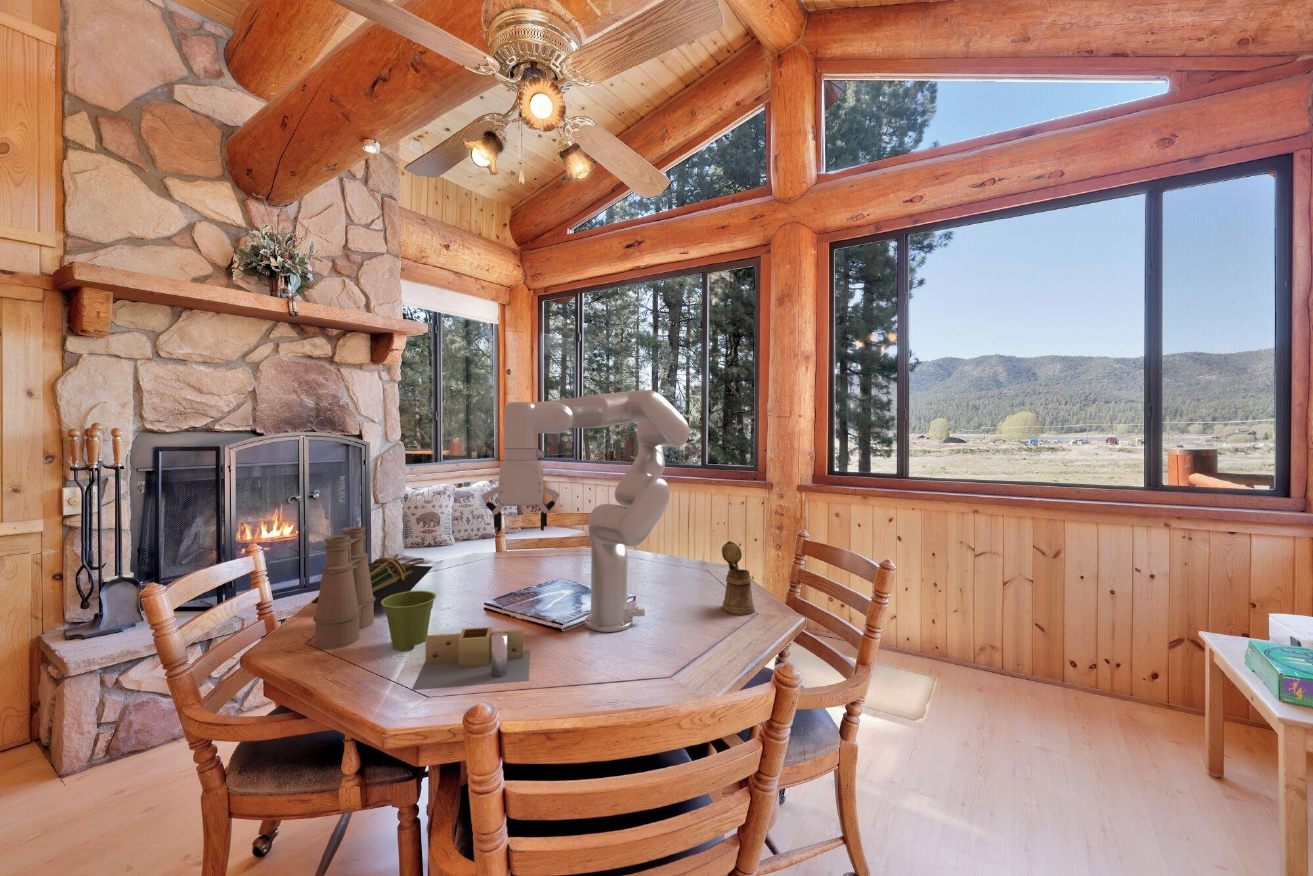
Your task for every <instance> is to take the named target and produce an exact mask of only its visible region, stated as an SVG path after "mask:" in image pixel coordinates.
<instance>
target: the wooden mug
mask: <svg viewBox="0 0 1313 876" xmlns="http://www.w3.org/2000/svg"><path fill="white" fill-rule="evenodd" d="M721 553H722V558H723V559H724V561H726V562H727V563H728V568H729V570H728V572H727V574H726V576H725V577H726V578H725V582H726V586H725V593H724V600H722V601H723V602H722V609H723V611H724V612H726V613H728V614H731V615H732V614H733V615H738V616H744V615H746V616H747V615H750V614H752V613H755V604H754V603H753V602H754V601H753V592H752V586H751V585H752V583H751V582H752V577H751V575H750V571H749V570H748V569H740V568H739V562H740V560H741V559H742V557H743V556H742V550H741V548H740V547H739V546H738V545H737V544H736V543H735V542H733V541H731V540H729V541H727V542H726V543H725V544H724V545H723V546H722V548H721Z"/></svg>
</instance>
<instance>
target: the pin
mask: <svg viewBox="0 0 1313 876" xmlns="http://www.w3.org/2000/svg"><path fill="white" fill-rule="evenodd" d="M507 645H508V634H506V633H495V634H493V635H492V636H491V676H492V677H496V678H499V677H503V676H506V675H507Z"/></svg>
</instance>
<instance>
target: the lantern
mask: <svg viewBox="0 0 1313 876" xmlns="http://www.w3.org/2000/svg"><path fill="white" fill-rule="evenodd" d="M399 555H400V554H399V553H396V554H395V555H394V556H393V557H388V556H387V557H383V556H382V555H379V558H377V559H375V560H374V561H372V563H369V562H368V566H369V572H370V579H371V585H372V591H373V596H374V597H375V598H376V599H375V601H374V607H383V606H382V605H381V601H382V600H383V599H384V598H386V597H388V596H391V595H394V594H398V593H402V592H408V591H413V588H415V587H416V586H417V584H419V582H420V581H421V580H422V579H423V578H424V577H425V576H426V575H427V574H428V573H429V571H431V570H432V569H433V568H434V566H430V565H421V564H424V562H425V558H424V557H417V558H413V559H409V560H406V561H404V562H400V561H399V559H397V558H398V557H399ZM318 598H319V595H318V596H316V598H315V599H313V600H312V601H310V604H318Z"/></svg>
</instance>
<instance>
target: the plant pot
mask: <svg viewBox="0 0 1313 876" xmlns="http://www.w3.org/2000/svg"><path fill="white" fill-rule="evenodd" d="M436 598H437V595H436V593H435V592H432V591H428V590H411V591H408V592H402V593H398V594H394V595H391V596H388V597H386V598H384V599H383V600H382V601H381V605H382V606H381V607H383V609H384V613H385V616H386V620H387V623H388V629H389V635H390V639H391V645H392V648H393V649H394V650H396V651H399V652H405V651H407V650H412V651H413V650H414V649H415V647H416V646H417V645H420V644H422V643H426V635H429V634H428V632H429V626H430V619H431V614H432V613H431V612H432V609H433V605H434V601H435V599H436Z"/></svg>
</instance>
